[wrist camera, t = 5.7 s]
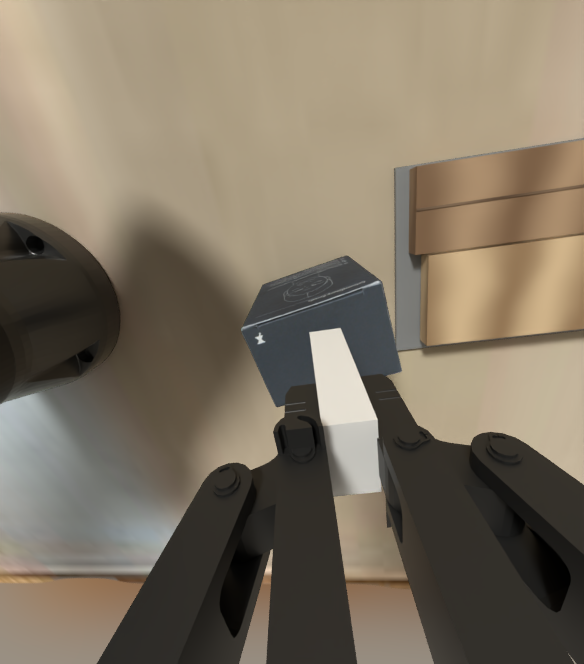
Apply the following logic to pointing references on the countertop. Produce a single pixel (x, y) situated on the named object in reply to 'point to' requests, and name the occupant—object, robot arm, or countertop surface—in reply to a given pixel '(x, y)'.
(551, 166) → the floor strip
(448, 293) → the plank
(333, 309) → the box
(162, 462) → the countertop surface
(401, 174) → the underlay
